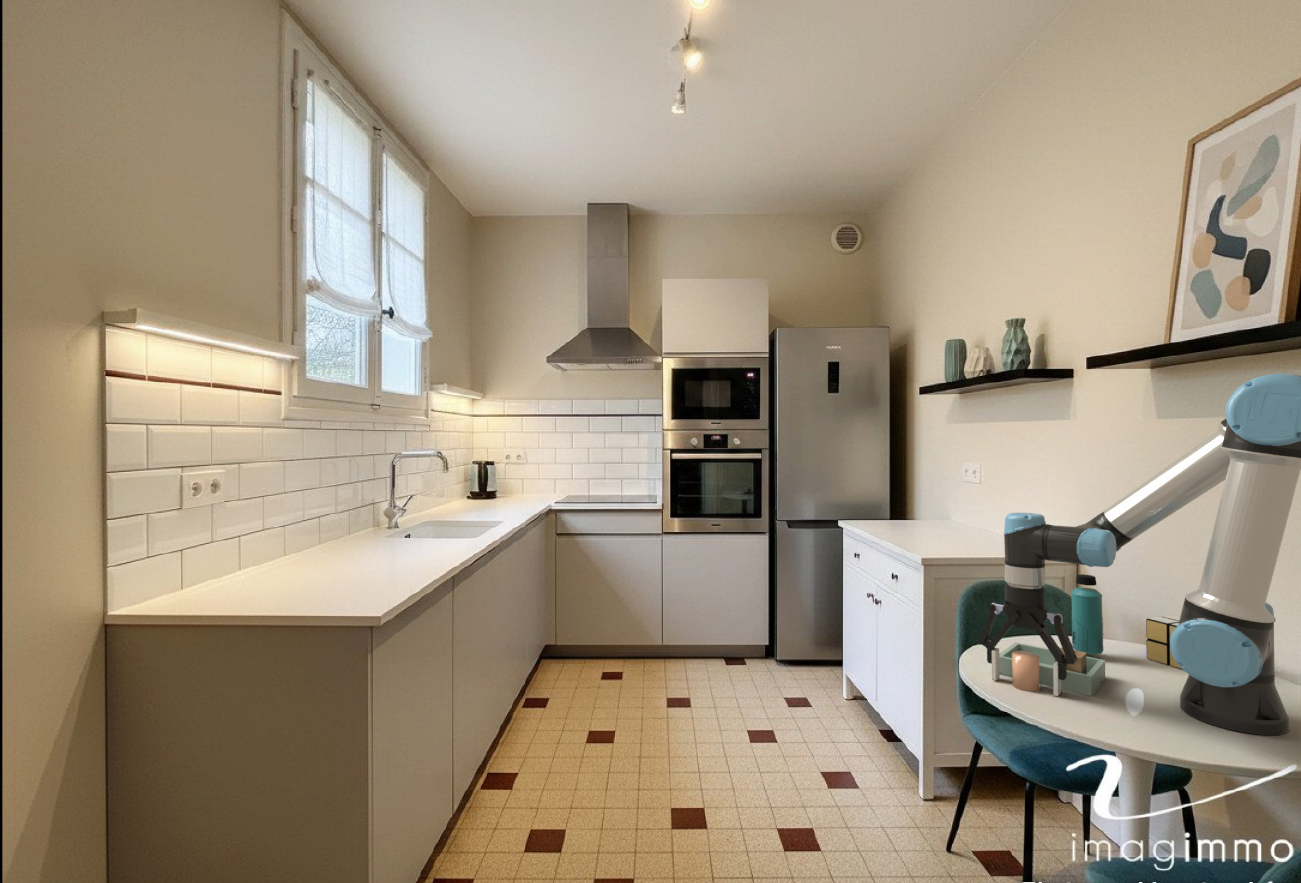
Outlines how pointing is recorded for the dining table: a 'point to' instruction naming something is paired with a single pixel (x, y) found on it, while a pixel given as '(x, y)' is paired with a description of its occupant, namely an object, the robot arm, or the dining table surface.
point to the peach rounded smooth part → (1025, 671)
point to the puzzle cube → (1161, 639)
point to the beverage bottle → (1087, 617)
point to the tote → (1046, 661)
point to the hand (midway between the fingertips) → (1025, 686)
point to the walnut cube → (1078, 663)
